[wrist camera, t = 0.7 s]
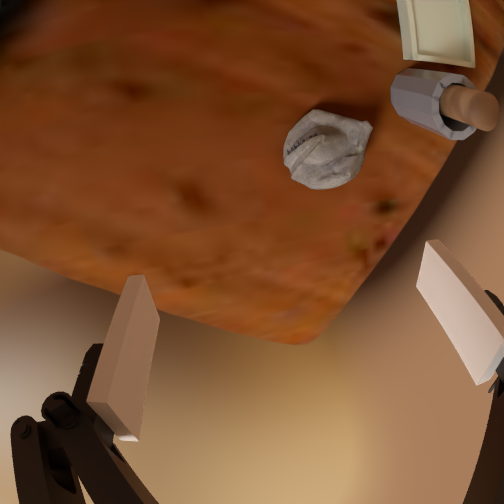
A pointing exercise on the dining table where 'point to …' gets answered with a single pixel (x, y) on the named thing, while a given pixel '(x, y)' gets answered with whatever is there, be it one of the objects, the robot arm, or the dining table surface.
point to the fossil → (326, 149)
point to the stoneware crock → (428, 100)
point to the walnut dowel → (470, 106)
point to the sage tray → (437, 31)
